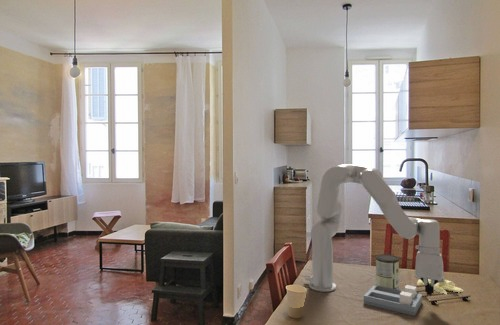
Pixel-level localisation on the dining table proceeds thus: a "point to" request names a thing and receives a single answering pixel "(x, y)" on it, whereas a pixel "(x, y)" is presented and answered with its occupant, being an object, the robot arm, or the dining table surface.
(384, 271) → the coffee can
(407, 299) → the tab
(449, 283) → the cloth
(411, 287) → the tab
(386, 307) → the switch board
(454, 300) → the dining table surface
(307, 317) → the dining table surface
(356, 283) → the dining table surface
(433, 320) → the dining table surface
